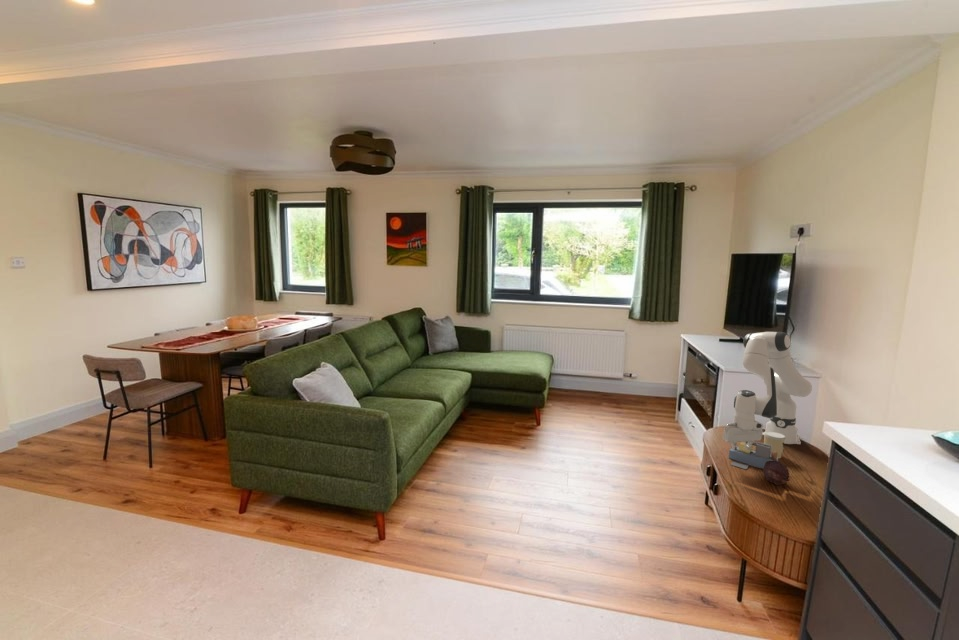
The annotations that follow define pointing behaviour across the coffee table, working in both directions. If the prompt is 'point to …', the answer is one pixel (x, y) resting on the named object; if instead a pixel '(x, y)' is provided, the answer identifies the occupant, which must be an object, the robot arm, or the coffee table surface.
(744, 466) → the mat
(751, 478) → the coffee table surface
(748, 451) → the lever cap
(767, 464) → the pine cone
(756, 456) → the plane body
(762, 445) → the ball-knob lever
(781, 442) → the coffee cup
